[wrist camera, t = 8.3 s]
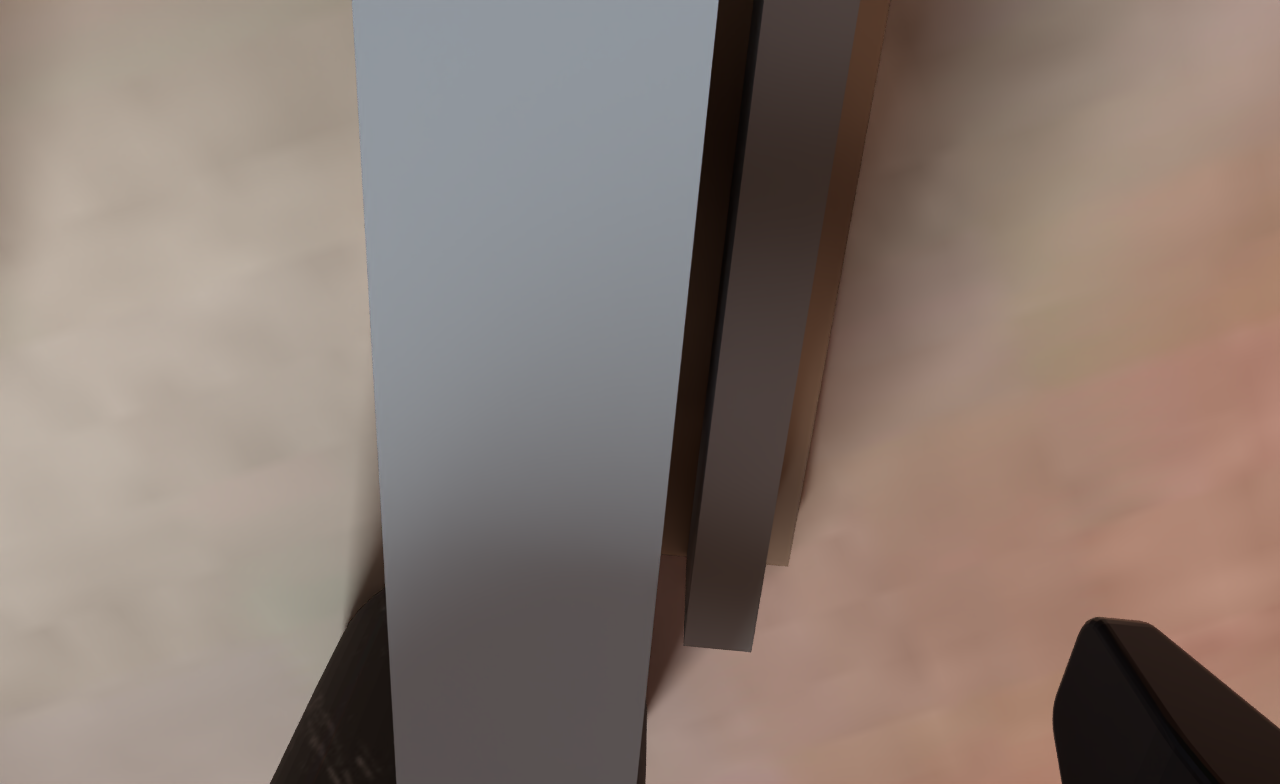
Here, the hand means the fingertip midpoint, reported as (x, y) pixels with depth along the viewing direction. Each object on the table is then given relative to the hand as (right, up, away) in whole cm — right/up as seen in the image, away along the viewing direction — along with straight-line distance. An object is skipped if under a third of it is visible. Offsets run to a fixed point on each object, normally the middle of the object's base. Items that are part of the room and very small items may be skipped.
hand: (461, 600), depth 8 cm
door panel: (+1, +5, +9) cm, 11 cm away
